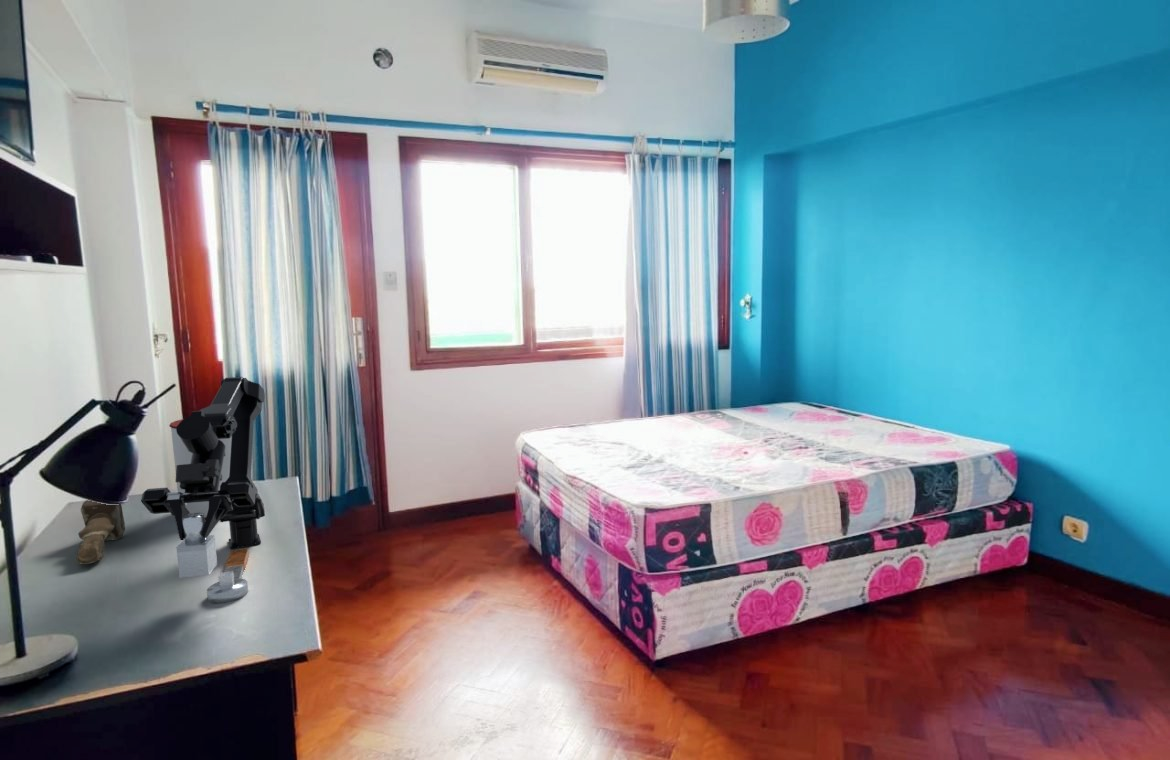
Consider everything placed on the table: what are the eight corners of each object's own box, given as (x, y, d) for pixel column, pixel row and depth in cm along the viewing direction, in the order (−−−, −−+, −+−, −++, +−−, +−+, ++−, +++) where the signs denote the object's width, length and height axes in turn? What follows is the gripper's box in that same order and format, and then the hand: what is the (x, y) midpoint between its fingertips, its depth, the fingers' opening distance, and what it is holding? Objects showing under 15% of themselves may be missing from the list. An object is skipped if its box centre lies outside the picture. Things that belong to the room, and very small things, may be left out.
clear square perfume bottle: (189, 566, 128) (183, 512, 127) (217, 564, 129) (211, 510, 128) (179, 577, 123) (173, 521, 122) (209, 574, 124) (203, 519, 123)
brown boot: (83, 600, 150) (65, 564, 141) (91, 521, 164) (75, 484, 154) (122, 592, 153) (107, 556, 144) (127, 516, 167) (113, 478, 158)
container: (202, 499, 190) (194, 414, 187) (261, 499, 190) (254, 414, 186) (164, 520, 173) (154, 427, 169) (229, 520, 173) (220, 426, 169)
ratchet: (222, 561, 146) (220, 541, 146) (257, 556, 149) (255, 537, 148) (205, 606, 125) (202, 584, 124) (246, 600, 128) (244, 578, 127)
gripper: (139, 448, 125) (119, 524, 116) (246, 442, 129) (235, 515, 120) (160, 476, 133) (143, 549, 124) (259, 469, 137) (250, 540, 128)
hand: (192, 538), depth 124 cm, fingers closed on clear square perfume bottle, 4 cm apart
